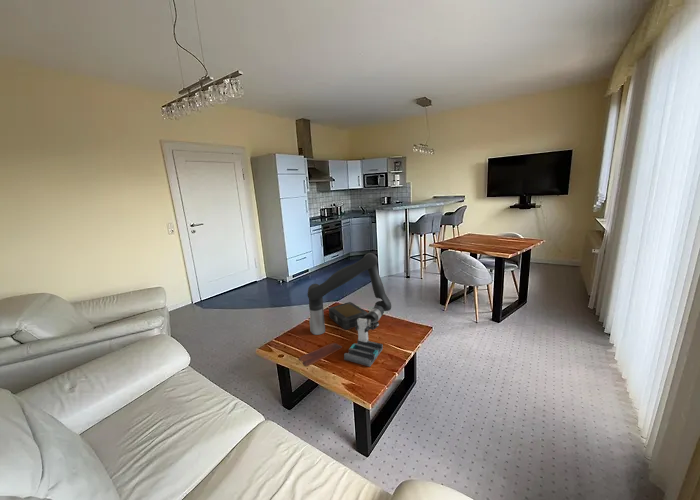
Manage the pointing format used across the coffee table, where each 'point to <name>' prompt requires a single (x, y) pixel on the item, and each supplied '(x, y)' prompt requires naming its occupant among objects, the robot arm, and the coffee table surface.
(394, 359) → the coffee table surface
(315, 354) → the wooden tablet
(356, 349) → the rack
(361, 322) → the panel
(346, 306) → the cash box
